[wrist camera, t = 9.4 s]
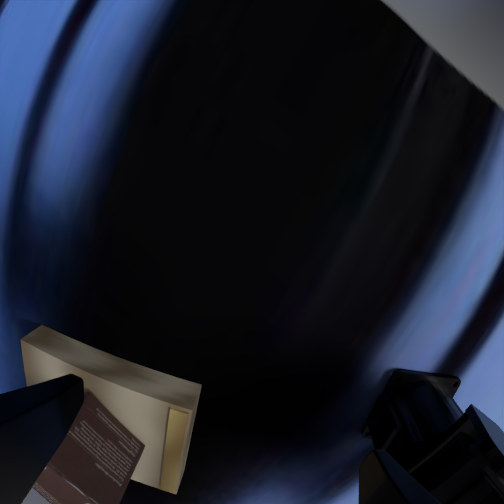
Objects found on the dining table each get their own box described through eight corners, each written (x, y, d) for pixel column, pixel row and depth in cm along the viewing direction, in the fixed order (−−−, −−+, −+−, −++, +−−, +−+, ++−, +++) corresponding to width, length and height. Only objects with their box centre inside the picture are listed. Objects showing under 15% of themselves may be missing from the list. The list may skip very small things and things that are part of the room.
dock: (201, 384, 21) (191, 412, 18) (184, 470, 24) (175, 495, 21) (42, 324, 22) (19, 340, 19) (52, 417, 24) (36, 435, 21)
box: (54, 410, 20) (6, 463, 13) (91, 387, 19) (36, 452, 12) (105, 461, 21) (70, 520, 14) (148, 446, 20) (114, 518, 13)
